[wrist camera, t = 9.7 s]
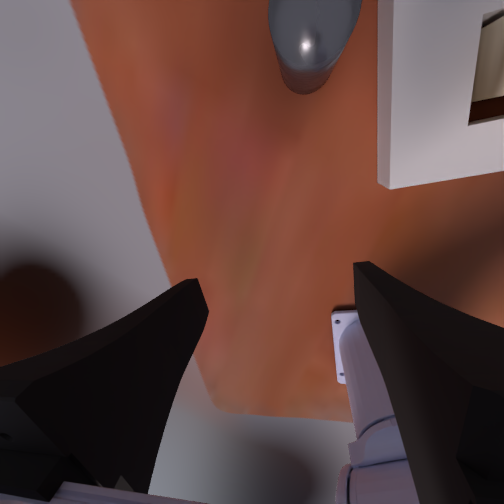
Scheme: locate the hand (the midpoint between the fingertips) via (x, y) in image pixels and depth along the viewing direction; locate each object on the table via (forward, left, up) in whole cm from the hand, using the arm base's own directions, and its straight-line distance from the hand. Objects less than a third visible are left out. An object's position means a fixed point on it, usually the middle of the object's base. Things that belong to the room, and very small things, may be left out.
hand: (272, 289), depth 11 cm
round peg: (+10, -3, -9) cm, 14 cm away
